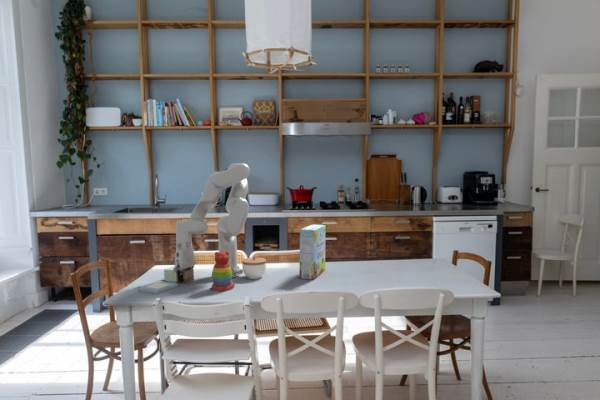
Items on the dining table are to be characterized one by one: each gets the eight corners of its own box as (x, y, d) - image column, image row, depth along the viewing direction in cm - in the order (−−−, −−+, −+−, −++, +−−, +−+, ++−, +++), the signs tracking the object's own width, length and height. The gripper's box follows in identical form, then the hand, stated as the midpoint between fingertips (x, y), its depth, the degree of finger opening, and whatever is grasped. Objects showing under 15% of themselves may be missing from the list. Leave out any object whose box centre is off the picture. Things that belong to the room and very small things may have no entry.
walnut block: (193, 280, 215) (193, 269, 215) (185, 283, 210) (185, 271, 209) (184, 279, 218) (184, 268, 217) (176, 282, 212) (176, 270, 212)
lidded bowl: (262, 281, 213) (262, 259, 212) (238, 279, 216) (238, 258, 215) (269, 274, 225) (269, 254, 225) (246, 273, 228) (246, 253, 227)
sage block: (181, 279, 218) (181, 267, 218) (173, 282, 213) (173, 270, 213) (172, 278, 221) (172, 266, 221) (164, 280, 216) (164, 269, 215)
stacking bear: (235, 285, 205) (234, 249, 204) (232, 291, 195) (231, 253, 194) (212, 285, 205) (211, 249, 204) (209, 292, 195) (208, 253, 194)
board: (177, 285, 206) (177, 283, 205) (156, 293, 193) (156, 290, 193) (158, 283, 211) (158, 280, 211) (136, 290, 198) (136, 288, 198)
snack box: (315, 280, 213) (314, 229, 211) (298, 279, 216) (298, 229, 214) (326, 270, 234) (326, 224, 232) (311, 269, 236) (311, 223, 234)
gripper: (178, 248, 203) (179, 285, 204) (201, 243, 218) (202, 277, 220) (166, 247, 206) (167, 284, 207) (189, 242, 222) (190, 275, 223)
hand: (185, 280), depth 214 cm, fingers closed on walnut block, 6 cm apart
